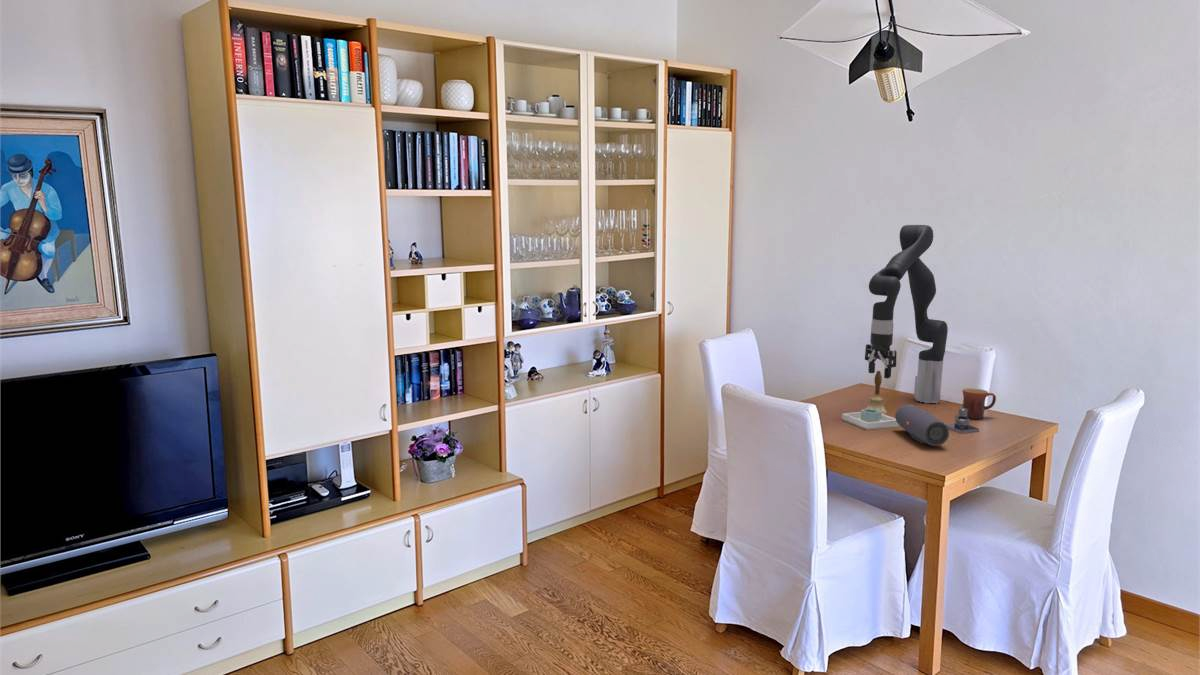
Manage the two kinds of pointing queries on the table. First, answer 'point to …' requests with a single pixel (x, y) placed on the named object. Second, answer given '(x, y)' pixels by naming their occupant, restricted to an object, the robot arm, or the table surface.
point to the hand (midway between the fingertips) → (879, 375)
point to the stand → (962, 423)
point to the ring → (870, 415)
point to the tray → (856, 420)
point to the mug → (976, 402)
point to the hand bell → (877, 396)
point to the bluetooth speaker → (922, 425)
